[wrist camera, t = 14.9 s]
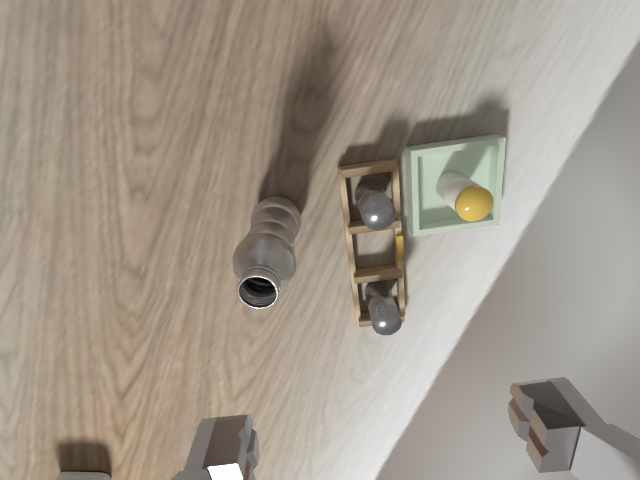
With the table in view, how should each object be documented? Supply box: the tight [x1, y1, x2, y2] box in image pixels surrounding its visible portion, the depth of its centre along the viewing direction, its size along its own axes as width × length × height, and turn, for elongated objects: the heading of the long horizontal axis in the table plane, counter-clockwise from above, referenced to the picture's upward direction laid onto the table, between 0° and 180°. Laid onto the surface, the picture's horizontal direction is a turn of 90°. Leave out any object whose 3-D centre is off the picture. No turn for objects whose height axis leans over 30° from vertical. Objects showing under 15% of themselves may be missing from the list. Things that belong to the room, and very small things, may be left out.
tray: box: [405, 134, 506, 236], centre depth 47 cm, size 12×12×3 cm
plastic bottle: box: [233, 196, 301, 309], centre depth 41 cm, size 6×7×20 cm
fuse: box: [436, 171, 493, 221], centre depth 44 cm, size 4×4×8 cm
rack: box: [337, 158, 405, 327], centre depth 51 cm, size 25×8×2 cm, turn 8°
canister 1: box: [355, 180, 396, 231], centre depth 45 cm, size 4×4×8 cm
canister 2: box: [365, 281, 402, 335], centre depth 52 cm, size 4×4×8 cm
